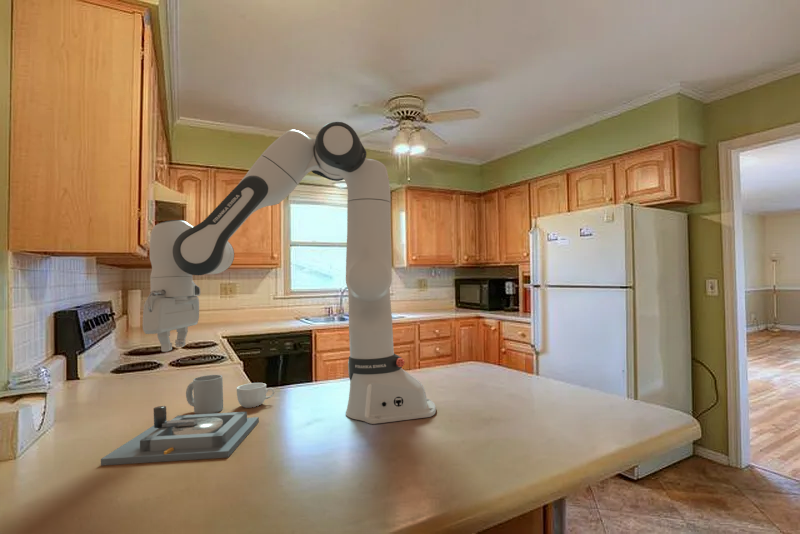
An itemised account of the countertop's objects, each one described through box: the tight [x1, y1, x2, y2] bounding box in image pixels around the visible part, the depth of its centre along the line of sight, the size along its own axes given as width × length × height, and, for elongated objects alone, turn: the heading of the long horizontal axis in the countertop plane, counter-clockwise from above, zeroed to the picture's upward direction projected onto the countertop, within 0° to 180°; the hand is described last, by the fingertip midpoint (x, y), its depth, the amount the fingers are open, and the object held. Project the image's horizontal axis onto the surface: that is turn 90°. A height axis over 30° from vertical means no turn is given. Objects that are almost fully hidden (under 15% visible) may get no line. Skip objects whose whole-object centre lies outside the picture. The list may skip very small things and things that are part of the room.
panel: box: [100, 411, 260, 466], centre depth 94 cm, size 24×21×3 cm
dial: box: [153, 405, 223, 435], centre depth 94 cm, size 14×10×6 cm
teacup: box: [236, 382, 275, 409], centre depth 120 cm, size 10×8×5 cm
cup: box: [185, 374, 224, 415], centre depth 117 cm, size 7×10×9 cm
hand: (173, 348), depth 101 cm, fingers open, 5 cm apart
